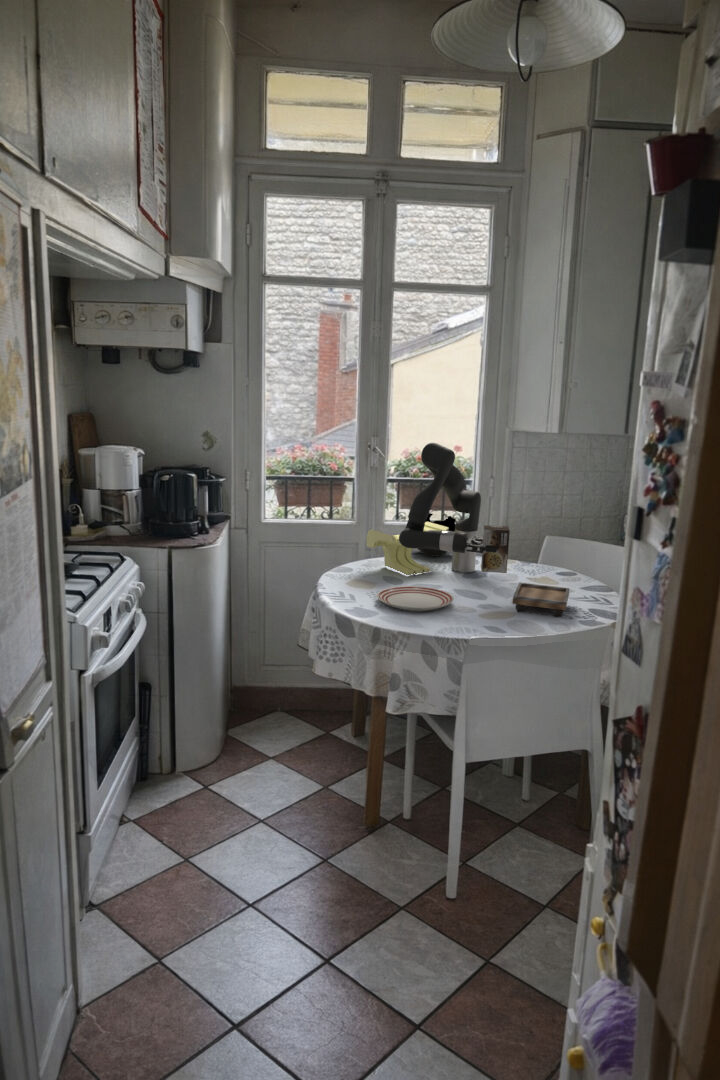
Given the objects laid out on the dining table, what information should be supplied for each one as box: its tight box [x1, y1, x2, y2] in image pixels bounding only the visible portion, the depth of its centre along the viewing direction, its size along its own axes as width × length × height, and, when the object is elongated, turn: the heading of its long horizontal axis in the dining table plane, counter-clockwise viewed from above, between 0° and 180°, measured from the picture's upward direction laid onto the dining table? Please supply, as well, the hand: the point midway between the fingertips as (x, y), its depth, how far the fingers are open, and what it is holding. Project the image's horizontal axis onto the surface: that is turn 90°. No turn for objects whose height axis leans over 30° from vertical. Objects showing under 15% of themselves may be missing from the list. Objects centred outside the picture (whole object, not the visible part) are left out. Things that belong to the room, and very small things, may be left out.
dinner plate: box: [376, 585, 455, 612], centre depth 285 cm, size 27×27×3 cm
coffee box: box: [480, 524, 511, 574], centre depth 289 cm, size 9×6×16 cm
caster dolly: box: [512, 582, 570, 617], centre depth 284 cm, size 18×18×6 cm
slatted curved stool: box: [366, 521, 449, 575], centre depth 326 cm, size 30×16×18 cm, turn 127°
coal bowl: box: [416, 512, 457, 557], centre depth 351 cm, size 20×20×19 cm
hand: (498, 546), depth 288 cm, fingers closed on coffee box, 7 cm apart
